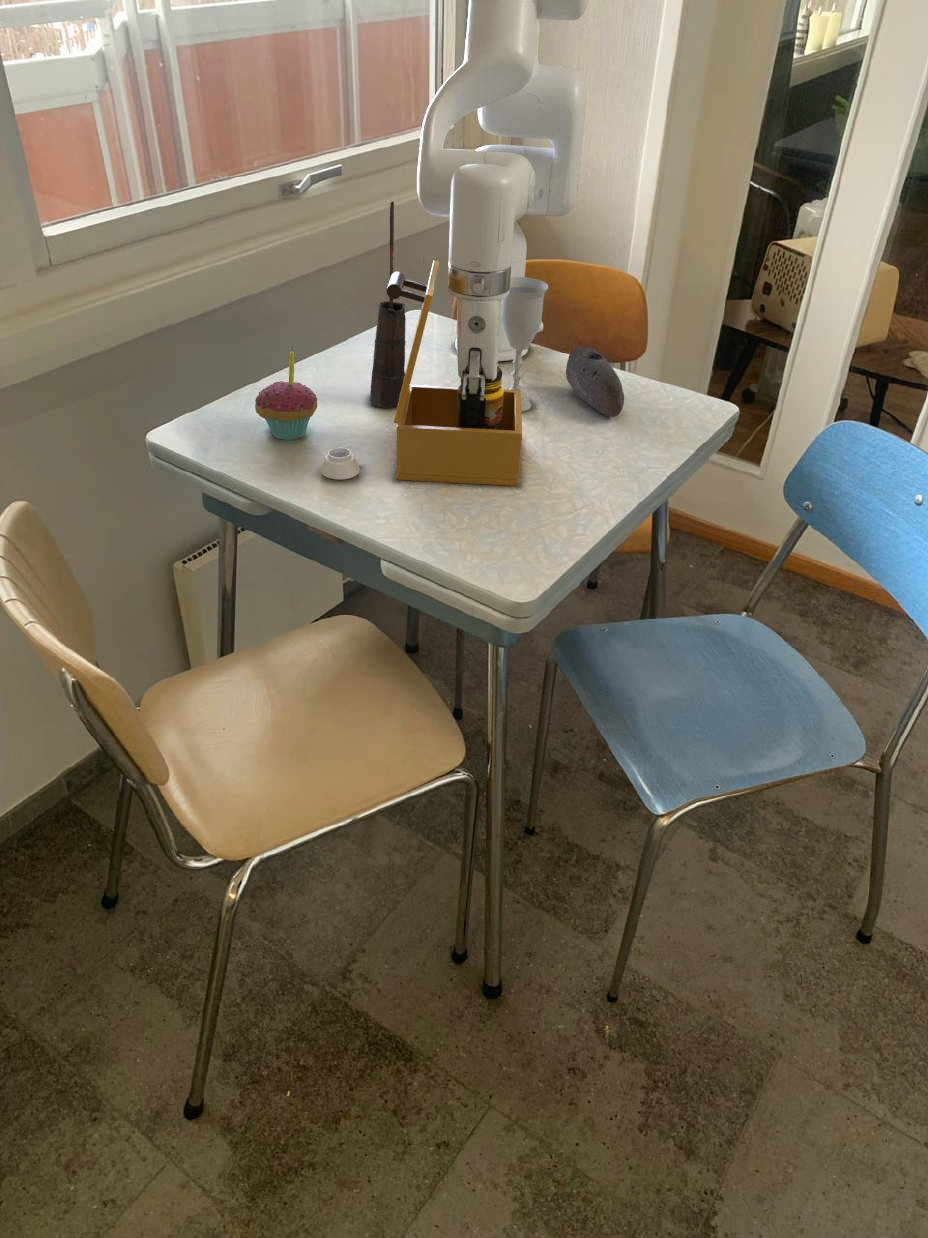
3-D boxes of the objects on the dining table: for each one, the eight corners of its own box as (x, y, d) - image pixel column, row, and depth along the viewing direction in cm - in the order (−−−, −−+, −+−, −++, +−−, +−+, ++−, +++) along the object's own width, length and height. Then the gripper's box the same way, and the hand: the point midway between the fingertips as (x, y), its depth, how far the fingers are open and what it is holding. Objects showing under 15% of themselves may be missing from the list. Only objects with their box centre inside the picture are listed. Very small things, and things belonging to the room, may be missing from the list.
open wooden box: (517, 439, 130) (521, 389, 126) (517, 486, 119) (522, 433, 115) (406, 433, 130) (406, 383, 126) (396, 479, 119) (396, 427, 115)
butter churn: (408, 421, 134) (409, 217, 117) (347, 411, 135) (339, 209, 119) (427, 397, 141) (430, 202, 124) (369, 388, 143) (364, 194, 126)
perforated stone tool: (632, 424, 136) (639, 379, 132) (600, 427, 134) (606, 382, 130) (591, 384, 147) (596, 342, 143) (560, 387, 146) (565, 344, 142)
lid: (439, 261, 116) (398, 249, 115) (432, 296, 105) (386, 282, 104) (409, 381, 126) (370, 370, 125) (399, 424, 115) (357, 413, 114)
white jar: (313, 472, 120) (339, 486, 117) (311, 452, 118) (338, 465, 116) (341, 460, 123) (367, 472, 121) (340, 440, 121) (366, 452, 119)
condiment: (502, 466, 122) (508, 380, 114) (438, 463, 122) (440, 376, 114) (502, 441, 127) (508, 358, 120) (441, 438, 127) (443, 355, 120)
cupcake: (285, 415, 134) (278, 334, 126) (332, 430, 130) (328, 347, 123) (245, 436, 128) (236, 352, 120) (293, 452, 124) (286, 367, 117)
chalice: (545, 411, 138) (557, 290, 127) (503, 417, 136) (512, 294, 125) (524, 392, 144) (534, 275, 133) (484, 397, 141) (491, 278, 131)
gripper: (510, 304, 104) (500, 442, 114) (510, 259, 117) (501, 386, 128) (444, 300, 104) (440, 439, 114) (451, 256, 117) (448, 383, 128)
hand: (473, 411), depth 121 cm, fingers open, 9 cm apart
